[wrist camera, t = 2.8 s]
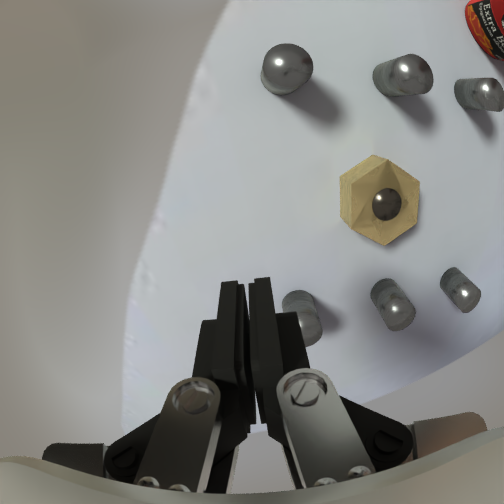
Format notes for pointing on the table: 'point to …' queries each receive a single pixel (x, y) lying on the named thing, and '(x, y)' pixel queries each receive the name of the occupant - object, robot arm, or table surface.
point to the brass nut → (379, 199)
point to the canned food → (487, 25)
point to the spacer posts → (390, 84)
